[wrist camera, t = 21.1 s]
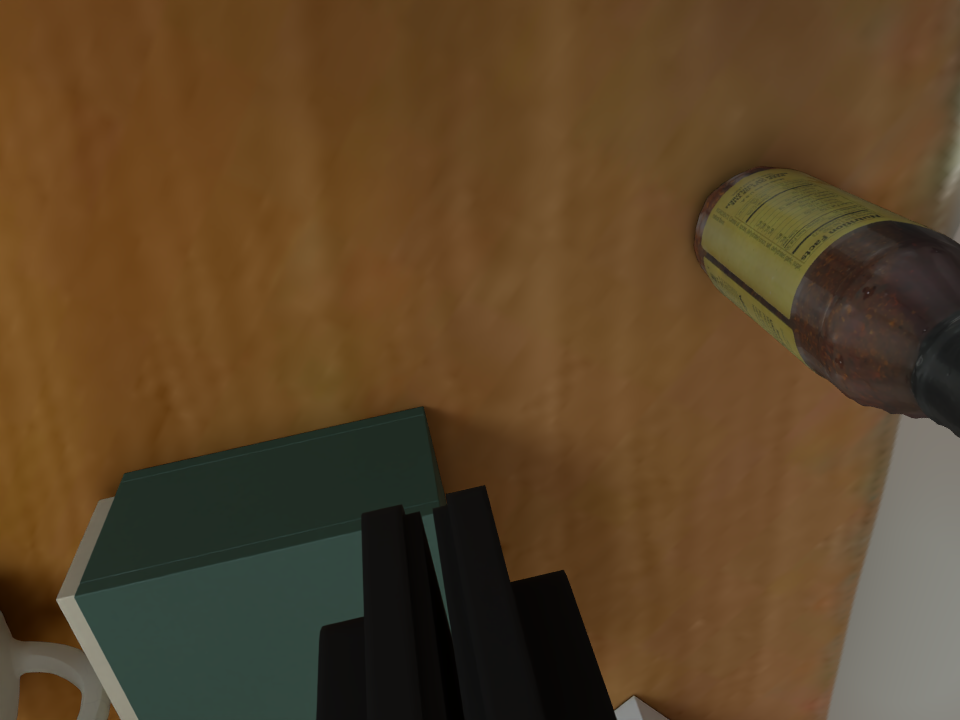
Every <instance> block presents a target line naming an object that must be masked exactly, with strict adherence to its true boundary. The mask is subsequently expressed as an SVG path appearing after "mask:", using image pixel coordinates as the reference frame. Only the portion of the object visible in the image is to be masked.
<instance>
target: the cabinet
mask: <svg viewBox="0 0 960 720" xmlns="http://www.w3.org/2000/svg"><path fill="white" fill-rule="evenodd" d="M400 504H402V505H403V508H404V511H405V514H410V513H414V512H419V511H420V513H421V516H422V520H423V524H424V528H425V532H426V536H427V540H428V544H429V548H430V552H431V556H432V560H433V563H434V567H435V571H436V575H437V579H438V583H439V587H440V591H441V595H442V599H443V603H444V607H445V611H446V615H447V619H448V623H449V627H450V621H449V614H448V608H447V601H446V595H445V589H444V582H443V576H442V569H441V563H440V556H439V550H438V543H437V537H436V530H435V524H434V517H433V510H432V508H436V507H441V506H445V505H447V503H446V498H445V494H444V490H443V486H442V482H441V477H440V473H439V469H438V465H437V461H436V456H435V452H434V448H433V444H432V440H431V436H430V431H429V427H428V423H427V419H426V415H425V410H424V407H418V408H414V409H409V410H405V411H400V412H396V413H391V414H387V415H382V416H378V417H374V418H369V419H365V420H360V421H356V422H351V423H347V424H342V425H338V426H333V427H329V428H325V429H320V430H316V431H311V432H307V433H302V434H298V435H293V436H289V437H284V438H280V439H276V440H271V441H267V442H262V443H258V444H253V445H249V446H244V447H240V448H236V449H231V450H227V451H222V452H218V453H213V454H209V455H204V456H200V457H195V458H191V459H187V460H182V461H178V462H173V463H169V464H164V465H160V466H155V467H151V468H147V469H142V470H138V471H133V472H129V473H125V474H124V475H123V478H122V480H121V483H120V485H119V488H118V490H117V492H116V495H115V497H114V500H113V502H112V505H111V507H110V510H109V512H108V514H107V517H106V519H105V522H104V524H103V527H102V529H101V532H100V534H99V537H98V539H97V541H96V544H95V546H94V549H93V551H92V554H91V556H90V559H89V561H88V563H87V566H86V568H85V571H84V573H83V576H82V578H81V581H80V584H79V586H78V588H77V591H76V593H75V596H74V598H75V600H76V602H77V604H78V606H79V608H80V610H81V612H82V614H83V616H84V617H85V619H86V621H87V623H88V625H89V627H90V629H91V631H92V633H93V634H94V636H95V638H96V640H97V642H98V644H99V646H100V648H101V650H102V652H103V653H104V655H105V657H106V659H107V661H108V663H109V665H110V667H111V669H112V671H113V672H114V674H115V676H116V678H117V680H118V682H119V684H120V686H121V688H122V689H123V691H124V693H125V695H126V697H127V699H128V701H129V703H130V705H131V707H132V708H133V710H134V712H135V714H136V716H137V718H138V720H316V712H317V684H318V655H319V636H320V630H321V628H322V626H325V625H329V624H333V623H338V622H342V621H346V620H351V619H355V618H359V617H363V616H364V601H363V567H362V533H361V515H362V513H365V512H369V511H374V510H378V509H383V508H387V507H391V506H396V505H400ZM450 631H451V627H450Z"/></svg>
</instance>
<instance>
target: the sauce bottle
mask: <svg viewBox="0 0 960 720" xmlns="http://www.w3.org/2000/svg"><path fill="white" fill-rule="evenodd" d="M694 241H695V242H694V249H695V253H696V256H697V260H698V261H699V263H700V265H701V267H702V269H703V270H704V271H705V272H706V273H707V275H708V276H709V277H710V279H711V281H712V283H713V284H714V285H715V287H716V288H717V289H718V290H719V291H720V292H721V293H722V294H723V295H724V296H726V297H727V298H728V299H729V300H731V301H732V302H733V303H734V304H735V305H736V306H738V307H739V308H740V309H741V310H742V311H744V312H745V313H746V314H747V315H748V316H749V317H751V318H752V319H753V320H754V321H755V322H757V323H758V324H759V325H760V326H761V327H762V328H764V329H765V330H766V331H767V332H768V333H769V334H771V335H772V336H773V337H774V338H775V339H776V340H777V341H779V342H780V343H781V344H782V345H783V346H784V347H786V348H787V349H788V350H789V351H790V352H791V353H792V354H794V355H795V356H796V357H797V358H798V359H799V360H801V361H802V362H803V363H804V364H805V365H806V366H808V367H809V368H810V369H811V370H812V371H814V372H815V373H817V374H818V375H820V376H821V377H823V378H825V379H827V380H829V381H830V382H831V383H832V384H833V385H835V386H836V387H837V388H838V389H839V390H840V391H841V392H842V393H843V394H845V395H846V396H847V397H848V398H850V399H853V400H855V401H856V402H857V403H859V404H861V405H863V406H871V407H876V408H879V409H883V410H885V411H887V412H888V413H891V414H904V415H906V416H909V417H911V418H930V419H931V420H933V421H934V422H936V423H937V424H939V425H942V426H944V427H947V428H948V429H950V430H951V431H952V432H953V433H954V434H955V435H956V436H958V437H959V438H960V244H958V243H957V242H956V241H954V240H952V239H951V238H949V237H947V236H946V235H944V234H942V233H939V232H937V231H935V230H932V229H930V228H928V227H926V226H923V225H921V224H918V223H916V222H914V221H911V220H909V219H907V218H904V217H902V216H900V215H897V214H895V213H893V212H891V211H888V210H886V209H884V208H881V207H879V206H877V205H875V204H872V203H870V202H868V201H866V200H863V199H861V198H859V197H857V196H855V195H852V194H850V193H848V192H846V191H843V190H841V189H839V188H837V187H834V186H832V185H830V184H828V183H826V182H824V181H822V180H819V179H817V178H815V177H812V176H810V175H808V174H805V173H803V172H800V171H797V170H793V169H780V168H773V167H755V168H752V169H750V170H747V171H745V172H743V173H740V174H738V175H736V176H734V177H732V178H731V179H729V180H728V181H726V182H724V183H723V184H721V185H720V187H719V188H717V189H716V190H714V191H713V192H712V193H711V194H710V195H709V197H708V198H707V199H706V202H705V204H704V206H703V208H702V210H701V212H700V214H699V219H698V223H697V226H696V234H695V238H694Z"/></svg>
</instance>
